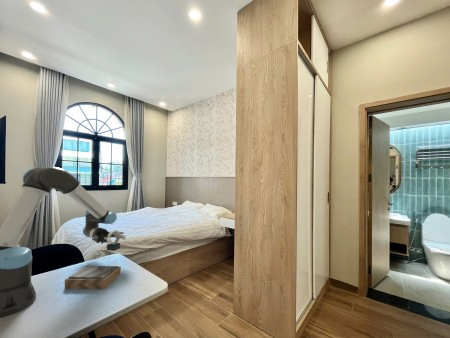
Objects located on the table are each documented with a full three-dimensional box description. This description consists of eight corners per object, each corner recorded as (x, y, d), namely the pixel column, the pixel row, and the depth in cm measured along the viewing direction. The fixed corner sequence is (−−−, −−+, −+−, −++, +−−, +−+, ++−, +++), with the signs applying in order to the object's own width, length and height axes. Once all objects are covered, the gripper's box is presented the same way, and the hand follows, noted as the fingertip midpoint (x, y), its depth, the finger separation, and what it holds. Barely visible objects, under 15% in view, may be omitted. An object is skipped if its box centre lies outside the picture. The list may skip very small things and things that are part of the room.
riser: (64, 288, 96) (64, 277, 96) (86, 274, 110) (86, 264, 110) (103, 289, 95) (104, 278, 95) (120, 274, 109) (120, 265, 109)
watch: (122, 247, 120) (122, 229, 121) (111, 252, 113) (112, 232, 113) (115, 246, 122) (115, 228, 122) (104, 251, 114) (104, 232, 115)
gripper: (115, 235, 136) (134, 240, 124) (80, 244, 118) (98, 251, 106) (115, 224, 136) (134, 229, 124) (80, 231, 118) (99, 237, 106)
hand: (118, 239), depth 115 cm, fingers closed on watch, 8 cm apart
